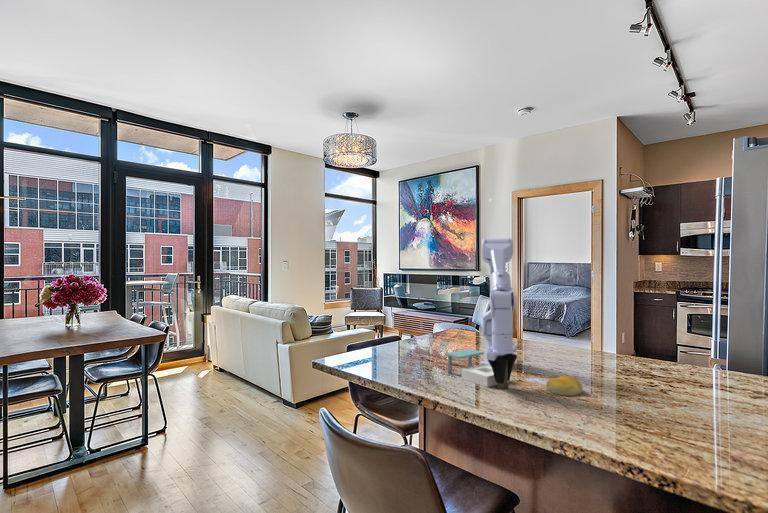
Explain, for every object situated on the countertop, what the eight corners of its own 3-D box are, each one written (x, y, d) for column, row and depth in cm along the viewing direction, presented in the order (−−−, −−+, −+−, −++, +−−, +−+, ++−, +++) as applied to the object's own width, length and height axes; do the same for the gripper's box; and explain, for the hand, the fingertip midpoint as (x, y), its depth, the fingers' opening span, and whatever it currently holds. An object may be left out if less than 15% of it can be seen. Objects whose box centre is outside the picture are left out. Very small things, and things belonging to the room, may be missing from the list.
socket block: (484, 373, 126) (484, 363, 126) (510, 381, 118) (509, 371, 118) (461, 378, 120) (461, 368, 120) (487, 387, 112) (487, 376, 112)
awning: (470, 368, 132) (470, 348, 132) (483, 372, 127) (483, 352, 127) (445, 373, 126) (445, 353, 126) (459, 377, 121) (459, 356, 121)
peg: (501, 386, 113) (501, 361, 113) (510, 388, 111) (509, 363, 111) (495, 387, 112) (495, 362, 112) (503, 390, 109) (503, 365, 109)
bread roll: (540, 389, 110) (540, 375, 110) (563, 385, 114) (563, 371, 114) (565, 399, 103) (564, 383, 103) (588, 394, 107) (588, 379, 107)
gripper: (500, 328, 119) (501, 373, 119) (476, 334, 109) (476, 384, 109) (523, 330, 115) (523, 377, 114) (500, 338, 104) (500, 389, 104)
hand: (502, 381), depth 111 cm, fingers open, 3 cm apart
